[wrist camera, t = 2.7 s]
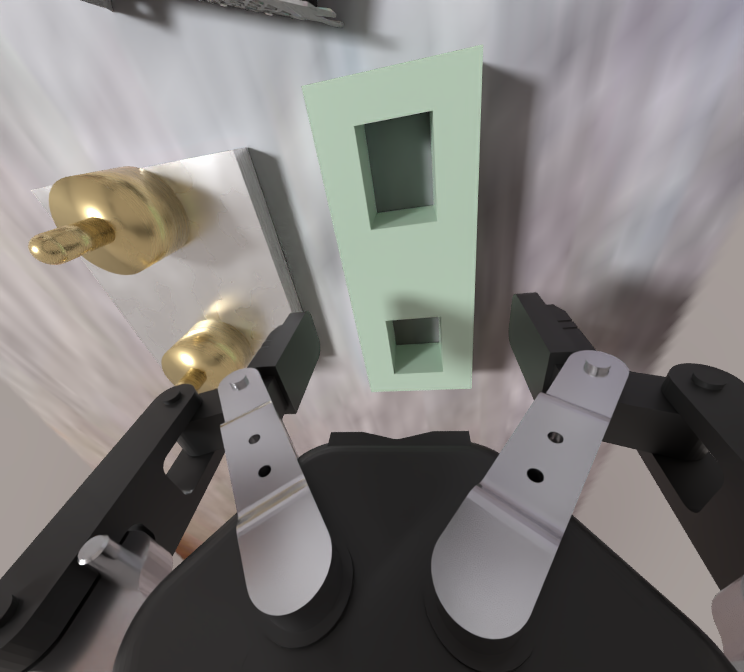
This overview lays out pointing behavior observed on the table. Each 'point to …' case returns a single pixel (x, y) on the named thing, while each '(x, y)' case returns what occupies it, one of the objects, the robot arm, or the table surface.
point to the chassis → (178, 258)
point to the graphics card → (269, 8)
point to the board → (406, 215)
